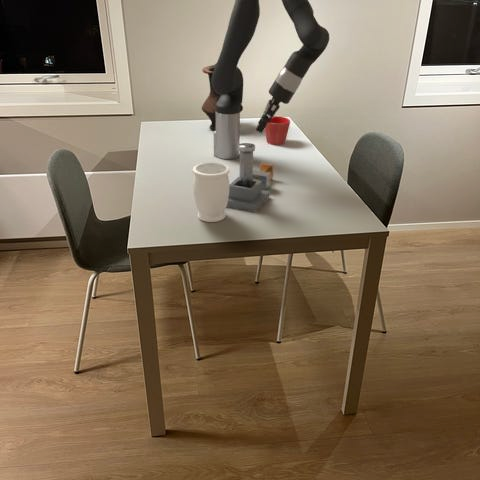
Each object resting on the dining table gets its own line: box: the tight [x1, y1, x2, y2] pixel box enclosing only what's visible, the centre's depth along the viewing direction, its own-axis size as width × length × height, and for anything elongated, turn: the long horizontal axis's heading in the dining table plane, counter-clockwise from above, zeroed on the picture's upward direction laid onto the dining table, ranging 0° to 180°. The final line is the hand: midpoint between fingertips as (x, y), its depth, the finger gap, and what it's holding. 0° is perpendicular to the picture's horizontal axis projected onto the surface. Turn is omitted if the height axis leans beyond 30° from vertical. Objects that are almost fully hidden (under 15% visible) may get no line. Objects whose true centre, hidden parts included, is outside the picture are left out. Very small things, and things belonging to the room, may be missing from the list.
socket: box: [226, 176, 270, 213], centre depth 150 cm, size 12×12×6 cm
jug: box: [201, 62, 244, 132], centre depth 214 cm, size 21×18×30 cm
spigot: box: [238, 142, 256, 188], centre depth 147 cm, size 5×5×16 cm
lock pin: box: [253, 162, 275, 181], centre depth 162 cm, size 12×4×5 cm, turn 158°
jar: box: [192, 161, 230, 223], centre depth 138 cm, size 11×10×15 cm
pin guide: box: [252, 169, 271, 191], centre depth 160 cm, size 7×4×5 cm, turn 68°
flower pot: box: [264, 115, 291, 146], centre depth 202 cm, size 11×11×10 cm
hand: (259, 128), depth 161 cm, fingers open, 8 cm apart
